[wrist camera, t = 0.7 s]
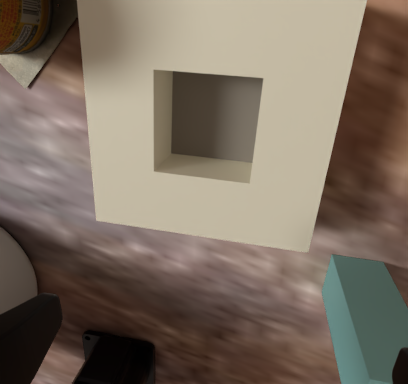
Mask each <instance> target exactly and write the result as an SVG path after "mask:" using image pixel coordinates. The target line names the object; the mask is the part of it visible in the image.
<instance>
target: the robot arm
mask: <svg viewBox="0 0 408 384" xmlns="http://www.w3.org/2000/svg"><path fill="white" fill-rule="evenodd" d="M61 323H62V311H61V306H60V301H59V297H58V296H57V295H56V294H51V293H41V294H39V295H37V296H35V297H33V298H31V299H29V300H27V301H25V302H23V303H22V304H20V305H18V306H16V307H14V308H12V309H10V310H8V311H6V312H4V313H2V314H0V384H31V382H32V380H33V379H34V377H35V375H36V373H37V371H38V369H39V367H40V365H41V363H42V362H43V360H44V358H45V356H46V354H47V352H48V350H49V348H50V346H51V344H52V342H53V340H54V338H55V336H56V334H57V332H58V330H59V328H60V326H61ZM82 339H83V346H84V354H85V362H84V364H83V365H82V367H81V369H80V370H79V372H78V374H77V375H76V377H75V379H74V380H73V382H72V384H155V347H154V345H153V344H151V343H148V342H143V341H139V340H134V339H129V338H124V337H119V336H114V335H109V334H104V333H100V332H95V331H90V330H87V331H85V332H84V334H83V336H82ZM392 381H393V384H408V348H407V347H403V348H401V349H400V351H399V353H398V356H397V359H396V362H395V364H394V367H393V370H392Z"/></svg>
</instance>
